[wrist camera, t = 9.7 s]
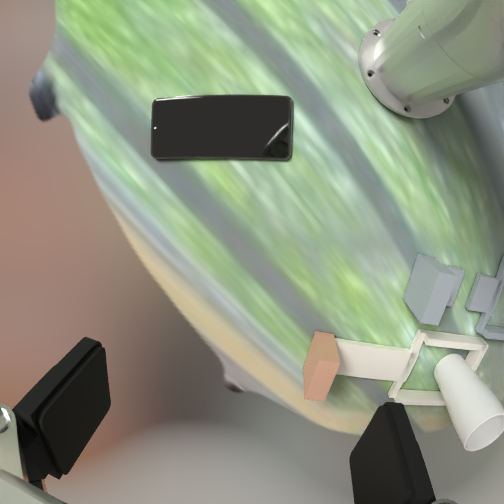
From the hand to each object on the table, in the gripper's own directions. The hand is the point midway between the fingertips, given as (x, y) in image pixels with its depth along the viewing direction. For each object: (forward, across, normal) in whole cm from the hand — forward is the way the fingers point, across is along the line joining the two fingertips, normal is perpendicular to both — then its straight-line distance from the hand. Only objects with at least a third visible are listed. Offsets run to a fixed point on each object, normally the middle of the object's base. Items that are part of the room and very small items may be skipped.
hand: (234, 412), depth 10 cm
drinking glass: (+28, -30, +15) cm, 44 cm away
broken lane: (+28, -31, +2) cm, 42 cm away
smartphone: (+29, +8, -10) cm, 32 cm away
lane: (+28, -21, +15) cm, 38 cm away
